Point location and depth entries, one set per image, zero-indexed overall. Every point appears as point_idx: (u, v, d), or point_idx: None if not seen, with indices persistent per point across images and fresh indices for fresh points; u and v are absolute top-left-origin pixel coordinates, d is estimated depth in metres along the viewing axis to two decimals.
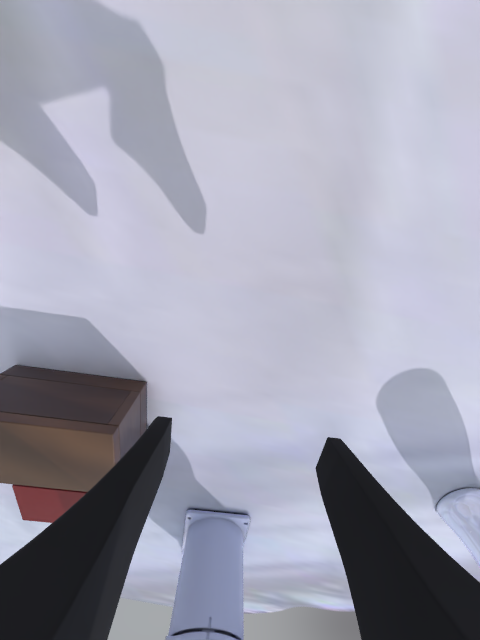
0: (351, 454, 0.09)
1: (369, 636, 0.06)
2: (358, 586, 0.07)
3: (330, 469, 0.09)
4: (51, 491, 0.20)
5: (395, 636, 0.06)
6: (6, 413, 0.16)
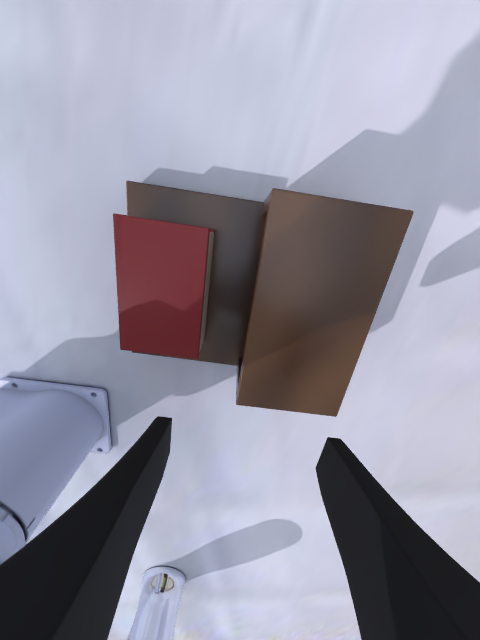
0: (351, 454, 0.09)
1: (369, 636, 0.06)
2: (358, 586, 0.07)
3: (330, 469, 0.09)
4: (198, 289, 0.13)
5: (395, 636, 0.06)
6: None
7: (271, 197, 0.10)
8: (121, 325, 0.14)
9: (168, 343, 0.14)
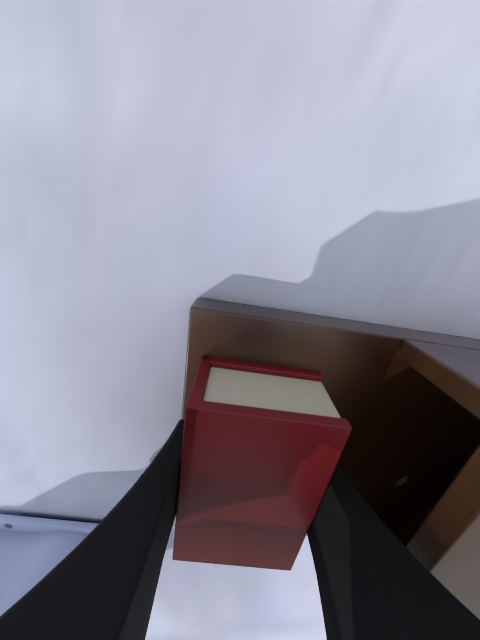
0: None
1: (332, 633, 0.06)
2: (325, 583, 0.07)
3: None
4: (313, 499, 0.08)
5: (354, 633, 0.06)
6: None
7: None
8: (178, 536, 0.09)
9: (249, 555, 0.09)
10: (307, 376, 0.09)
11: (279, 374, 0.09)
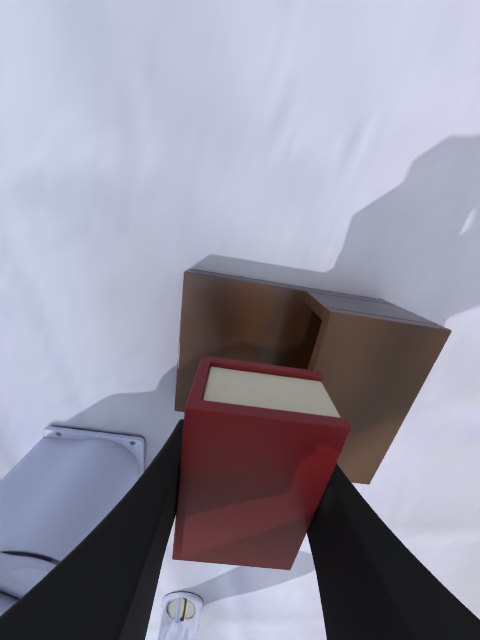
0: None
1: (332, 633, 0.06)
2: (325, 583, 0.07)
3: None
4: (312, 498, 0.08)
5: (354, 633, 0.06)
6: None
7: (329, 318, 0.11)
8: (178, 536, 0.09)
9: (248, 554, 0.09)
10: (307, 376, 0.09)
11: (279, 374, 0.09)
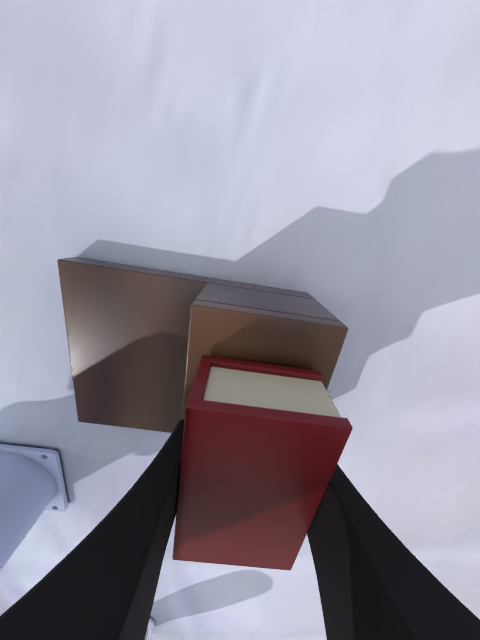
0: None
1: (332, 633, 0.06)
2: (325, 583, 0.07)
3: None
4: (313, 499, 0.08)
5: (354, 633, 0.06)
6: None
7: (190, 312, 0.09)
8: (178, 536, 0.09)
9: (249, 554, 0.09)
10: (307, 375, 0.09)
11: (279, 373, 0.09)
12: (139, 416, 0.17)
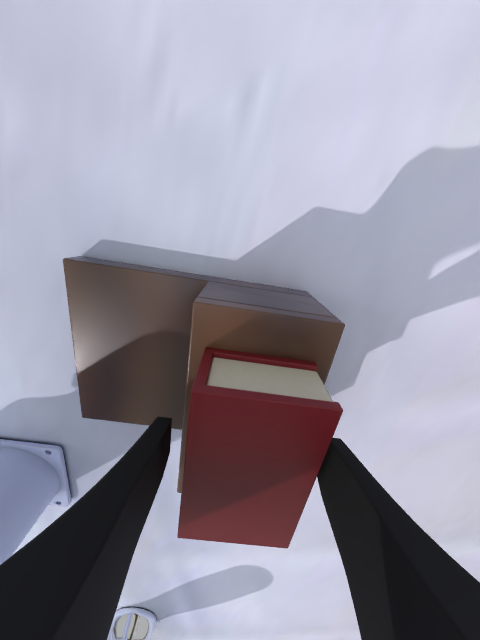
0: (351, 454, 0.09)
1: (369, 636, 0.06)
2: (358, 586, 0.07)
3: (330, 469, 0.09)
4: (308, 478, 0.08)
5: (395, 636, 0.06)
6: None
7: (193, 309, 0.09)
8: (183, 514, 0.09)
9: (249, 532, 0.10)
10: (303, 366, 0.10)
11: (277, 364, 0.10)
12: (141, 412, 0.17)
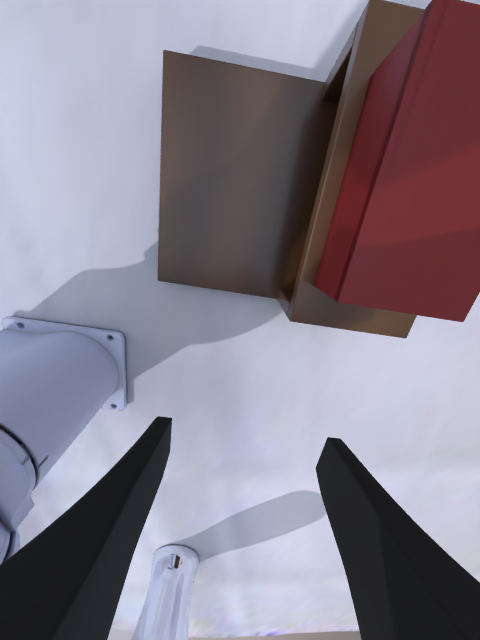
0: (351, 454, 0.09)
1: (369, 636, 0.06)
2: (358, 586, 0.07)
3: (330, 469, 0.09)
4: None
5: (395, 636, 0.06)
6: None
7: (366, 13, 0.08)
8: (357, 256, 0.08)
9: (426, 292, 0.08)
10: None
11: None
12: (224, 272, 0.15)
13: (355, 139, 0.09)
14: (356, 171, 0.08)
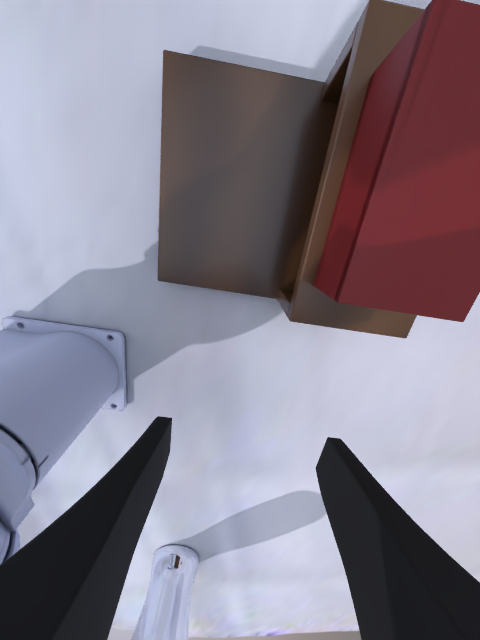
0: (351, 454, 0.09)
1: (369, 636, 0.06)
2: (358, 586, 0.07)
3: (330, 469, 0.09)
4: None
5: (395, 636, 0.06)
6: None
7: (366, 13, 0.08)
8: (357, 256, 0.08)
9: (426, 292, 0.08)
10: None
11: None
12: (224, 272, 0.15)
13: (355, 139, 0.09)
14: (356, 171, 0.08)
